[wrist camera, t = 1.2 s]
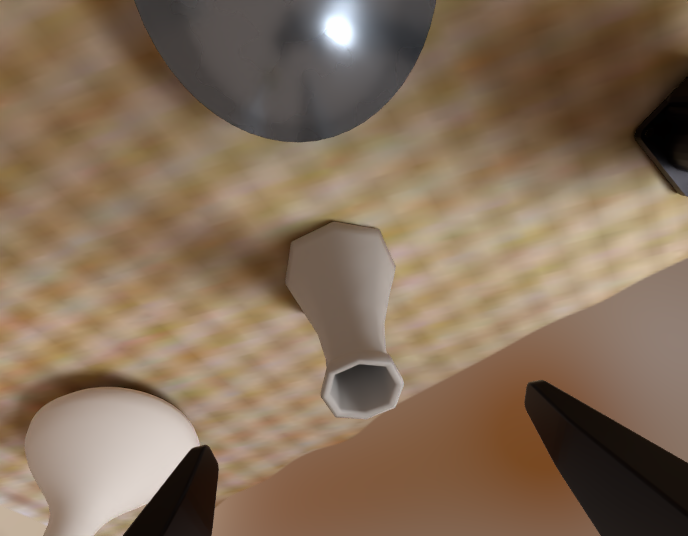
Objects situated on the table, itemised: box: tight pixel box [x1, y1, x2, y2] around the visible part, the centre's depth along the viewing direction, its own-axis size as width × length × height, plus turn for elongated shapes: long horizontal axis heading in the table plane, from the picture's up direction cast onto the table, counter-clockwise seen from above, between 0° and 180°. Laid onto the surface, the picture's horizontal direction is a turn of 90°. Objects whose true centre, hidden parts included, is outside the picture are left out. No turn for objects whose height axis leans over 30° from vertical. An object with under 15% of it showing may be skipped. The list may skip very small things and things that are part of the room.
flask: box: [285, 221, 404, 419], centre depth 17 cm, size 7×7×10 cm
